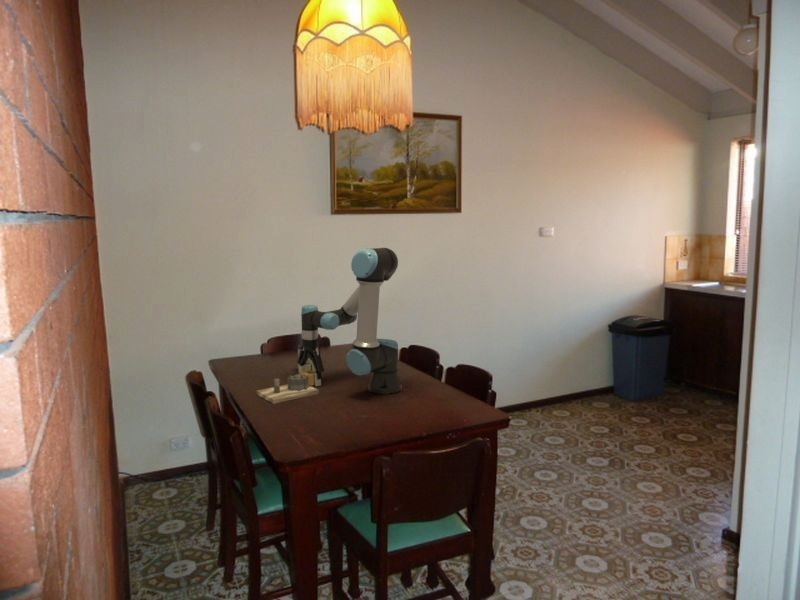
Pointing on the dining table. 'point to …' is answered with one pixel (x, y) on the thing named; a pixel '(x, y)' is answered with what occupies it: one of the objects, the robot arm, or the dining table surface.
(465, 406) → the dining table surface
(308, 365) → the coffee can
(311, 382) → the gear
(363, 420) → the dining table surface
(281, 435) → the dining table surface
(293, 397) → the gear board
